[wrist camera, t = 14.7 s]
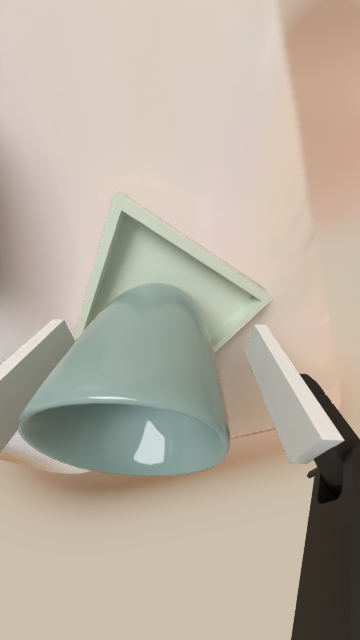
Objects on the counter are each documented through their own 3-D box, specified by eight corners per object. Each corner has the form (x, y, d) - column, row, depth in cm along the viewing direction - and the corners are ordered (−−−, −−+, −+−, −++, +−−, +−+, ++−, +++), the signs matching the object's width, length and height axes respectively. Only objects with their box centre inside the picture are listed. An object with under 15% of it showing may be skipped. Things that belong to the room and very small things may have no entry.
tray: (83, 325, 16) (73, 337, 15) (124, 193, 10) (114, 191, 9) (186, 367, 20) (186, 380, 18) (263, 288, 13) (273, 298, 12)
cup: (129, 345, 17) (78, 476, 9) (103, 272, 12) (-54, 401, 4) (204, 342, 16) (224, 477, 8) (205, 264, 12) (252, 394, 4)
